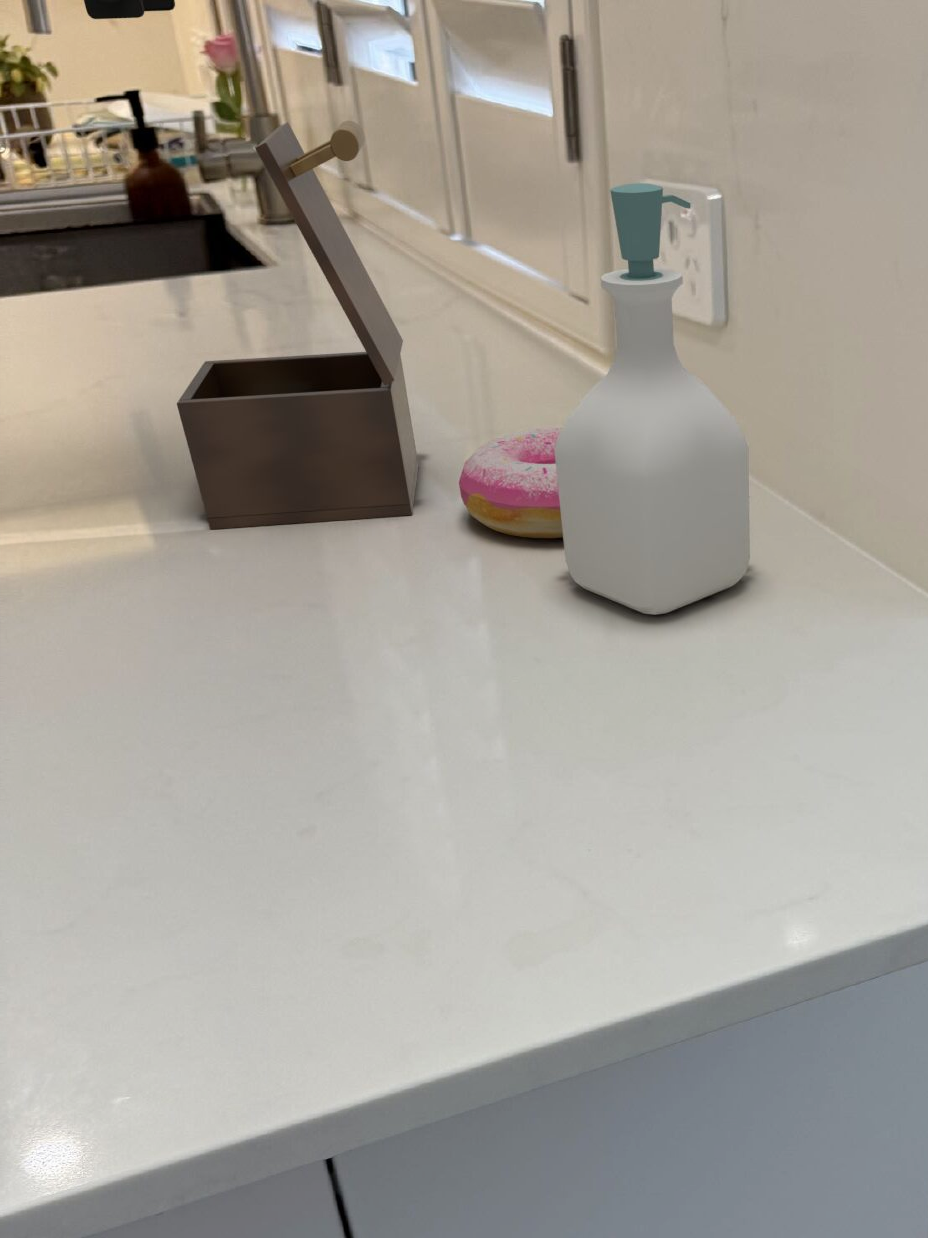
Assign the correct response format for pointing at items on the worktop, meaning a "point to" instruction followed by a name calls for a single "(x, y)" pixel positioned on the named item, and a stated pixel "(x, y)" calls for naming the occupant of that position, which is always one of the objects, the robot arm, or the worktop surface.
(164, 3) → the robot arm
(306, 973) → the worktop surface
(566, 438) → the soap bottle
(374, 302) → the lid
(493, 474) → the donut
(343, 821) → the worktop surface
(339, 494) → the tea box
